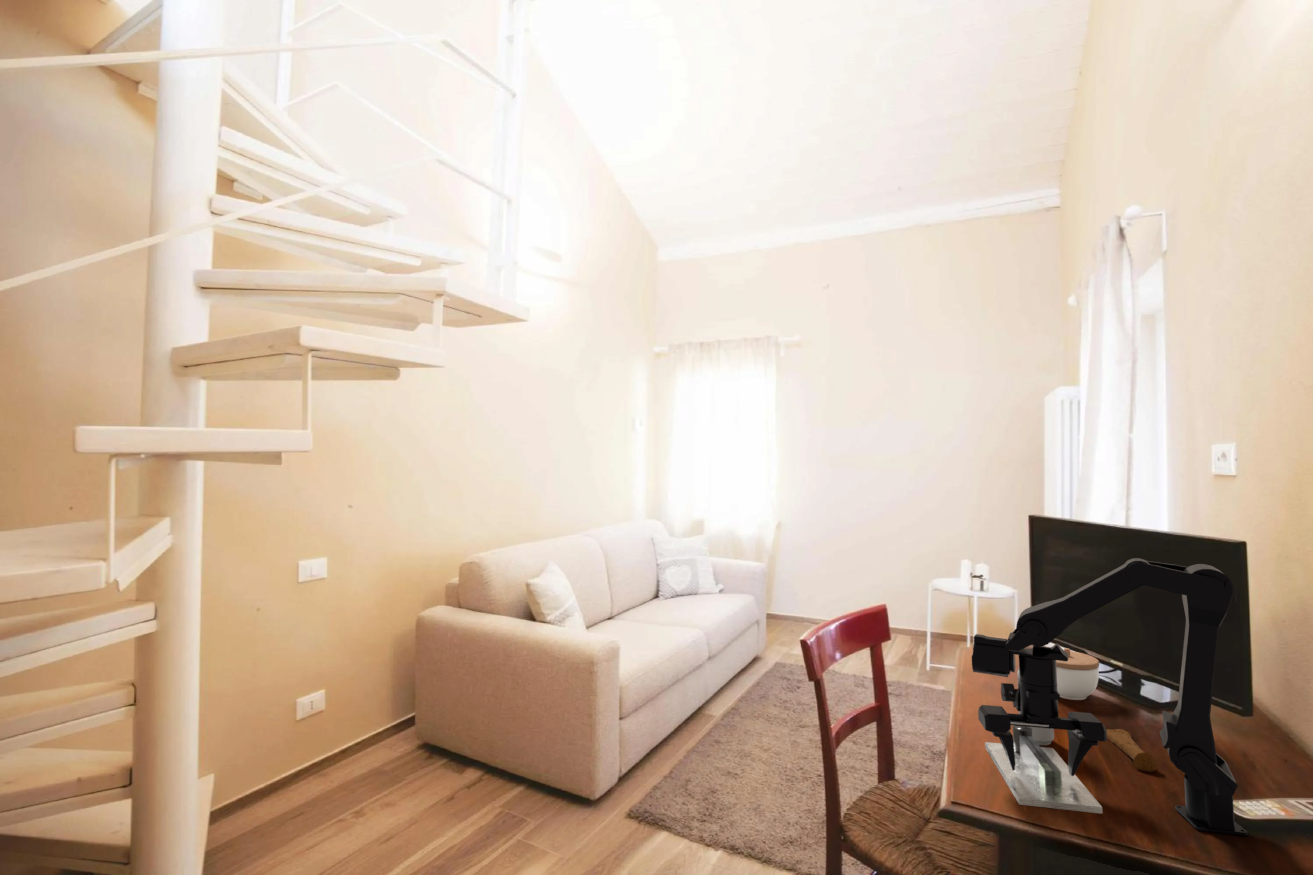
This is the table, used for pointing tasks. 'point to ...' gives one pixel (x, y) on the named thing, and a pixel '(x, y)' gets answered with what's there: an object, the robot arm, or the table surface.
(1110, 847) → the table surface
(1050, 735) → the energy drink can
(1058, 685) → the lidded bowl
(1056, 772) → the green glass bar
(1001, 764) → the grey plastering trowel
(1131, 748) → the primitive tool
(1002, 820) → the table surface
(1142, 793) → the table surface
